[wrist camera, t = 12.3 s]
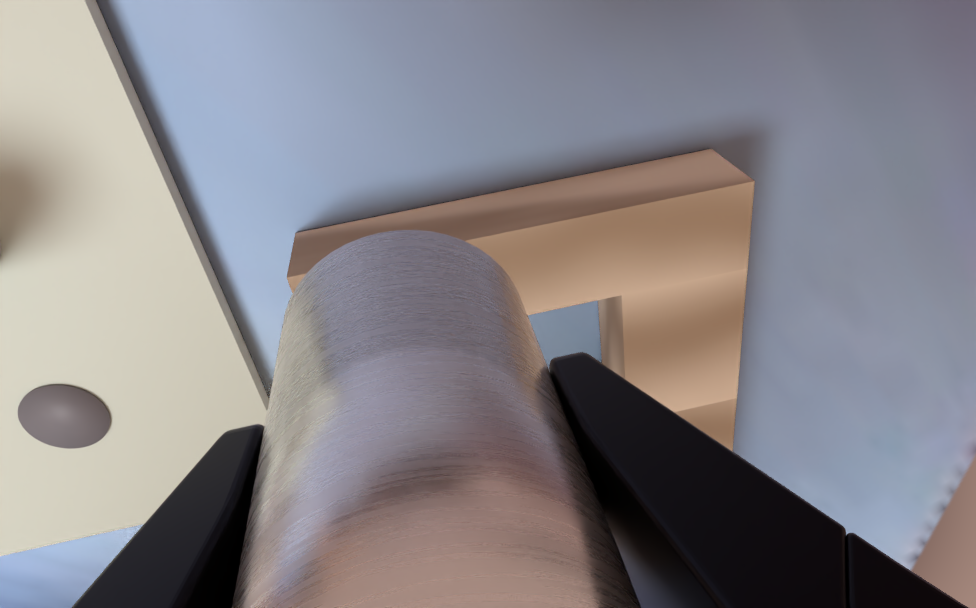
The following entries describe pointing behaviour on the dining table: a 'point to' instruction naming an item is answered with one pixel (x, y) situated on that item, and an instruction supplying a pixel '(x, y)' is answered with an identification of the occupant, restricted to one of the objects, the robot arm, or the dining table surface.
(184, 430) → the plate
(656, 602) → the robot arm
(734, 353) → the hole board
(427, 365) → the pin
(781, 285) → the dining table surface
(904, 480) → the dining table surface
